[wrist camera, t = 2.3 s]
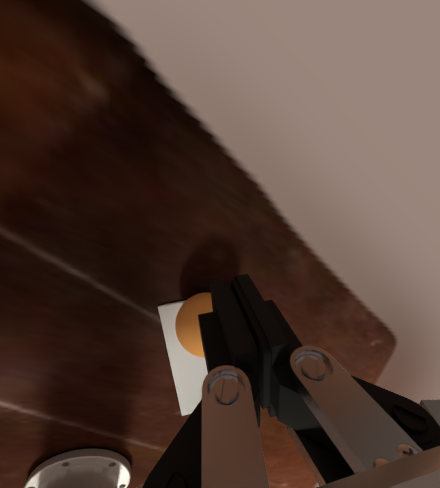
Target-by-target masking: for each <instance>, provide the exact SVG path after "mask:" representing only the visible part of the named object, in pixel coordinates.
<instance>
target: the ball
mask: <svg viewBox="0 0 440 488" xmlns="http://www.w3.org/2000/svg"><path fill="white" fill-rule="evenodd" d="M209 312H213V309H212V299H211V293H199V294H196V295H194V296H192V297H190V298H189V299H187V300H186V301H185V302H184V303H183V305H182V306H181V307H180V309H179V311H178V313H177V316H176V321H175V330H176V335H177V338H178V340H179V342H180V344H181V345H182V346H183V348H184V349H185V350H187V351H188V352H189V353H191V354H193V355H195V356H198V357H203V358H205V356H204V351H203V345H202V340H201V334H200V327H199V320H198V315H199V314H204V313H209Z"/></svg>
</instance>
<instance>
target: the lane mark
mask: <svg viewBox="0 0 440 488" xmlns="http://www.w3.org/2000/svg"><path fill="white" fill-rule="evenodd" d="M184 302H185V301H181V302H175V303H170V304H165V305H160V306H158V310H159V314H160V319H161V323H162V328H163V332H164V337H165V341H166V346H167V350H168V355H169V359H170V364H171V368H172V373H173V377H174V382H175V386H176V391H177V395H178V400H179V404H180V409H181V413H182V416H183V415H187V414H191V413H192V412H193V411H194V409H195V408H196V406H197V405H198V403H199V402H200V401H201V399H202V385H203V381H204V379H205V377H206V375H207V374H208V372H207V366H206V361H205V358H203V357H198V356H195V355H193V354H191V353H189V352H188V351H187V350H185V349H184V348H183V346H182V345H181V344H180V342H179V340H178V338H177V335H176V330H175V321H176V316H177V313H178V311H179V309H180V307H181V306H182V305H183V303H184Z"/></svg>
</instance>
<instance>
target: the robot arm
mask: <svg viewBox="0 0 440 488" xmlns="http://www.w3.org/2000/svg"><path fill="white" fill-rule="evenodd" d="M210 290H211V299H212V309H213V312H209V313H204V314H199V315H198V320H199V327H200V334H201V340H202V345H203V351H204V356H205V361H206V366H207V372H208V374H207V375H206V377H205V379H204V381H203V385H202V399H201V401H200V402H199V403H198V405H197V406H196V408H195V409H194V411H193V412H192V414H191V415H190V416H189V418H188V419H187V421H186V422H185V424H184V425H183V427H182V428H181V429H180V431H179V432H178V434H177V435H176V437H175V438H174V440H173V441H172V442H171V444H170V445H169V447H168V448H167V450H166V451H165V453H164V454H163V455H162V457H161V458H160V460H159V461H158V463H157V464H156V466H155V467H154V468H153V470H152V471H151V473H150V474H149V476H148V478H147V479H146V481H145V483H143V484H142V485H140V486H138V487H137V488H269V482H268V477H267V472H266V466H265V461H264V455H263V450H262V445H261V439H260V434H259V427H260V405H261V407H262V408H263V409H264V408H267V409H268V412H269V415H270V417H274V416H277V418H278V420H279V421H280V422H282V423H284V424H286V427H287V429H288V431H289V434H290V435H291V437H292V439H293V441H294V442H295V444H296V446H297V448H298V449H299V451H300V453H301V455H302V456H303V458H304V460H305V462H306V463H307V465H308V467H309V469H310V470H311V472H312V474H313V476H314V477H315V479H316V481H317V483H318V484H319V487H317V488H440V400H421V402H420V404H417V403H415V402H413V401H412V400H410V399H408V398H405V397H403V396H400V395H398V394H395V393H393V392H391V391H388V390H385V389H383V388H381V387H378V386H376V385H373V384H371V383H368V382H366V381H364V380H361V379H359V378H356V377H354V376H351V375H350V374H349V373H348V372H347V371H346V370H345V369H344V368H343V367H342V366H341V365H340V364H339V363H338V362H337V361H336V360H335V359H334V358H333V357H332V356H331V355H330V354H329V353H327V352H326V351H324V350H322V349H320V348H317V347H314V346H302V344H301V343H300V341H299V340H298V338H297V337H296V335H295V334H294V332H293V331H292V329H291V328H290V326H289V325H288V323H287V321H286V320H285V318H284V317H283V315H282V314H281V312H280V311H279V309H278V308H277V306H276V305H275V303H274V302H273V301H272V300H268V301H264V300H263V298H262V297H261V295H260V293H259V292H258V290H257V288H256V287H255V285H254V283H253V282H252V280H251V278H250V277H249V275H248V274H244V275H239V276H235V280H231V287H230V285H229V282H228V281H223V279H217V280H211V281H210ZM130 476H131V466H130V464H129V462H128V461H127V459H126V458H125V457H123V456H122V455H120V454H119V453H116V452H114V451H110V450H106V449H96V448H92V449H79V450H73V451H69V452H65V453H62V454H59V455H57V456H54V457H52V458H50V459H48V460H46V461H45V462H43V463H42V464H40V465H39V466H37V467H36V468H35V469H34V470H33V471H32V472H31V474H30V476H29V477H28V479H27V482H26V484H25V487H24V488H127V486H128V484H129V482H130Z"/></svg>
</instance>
